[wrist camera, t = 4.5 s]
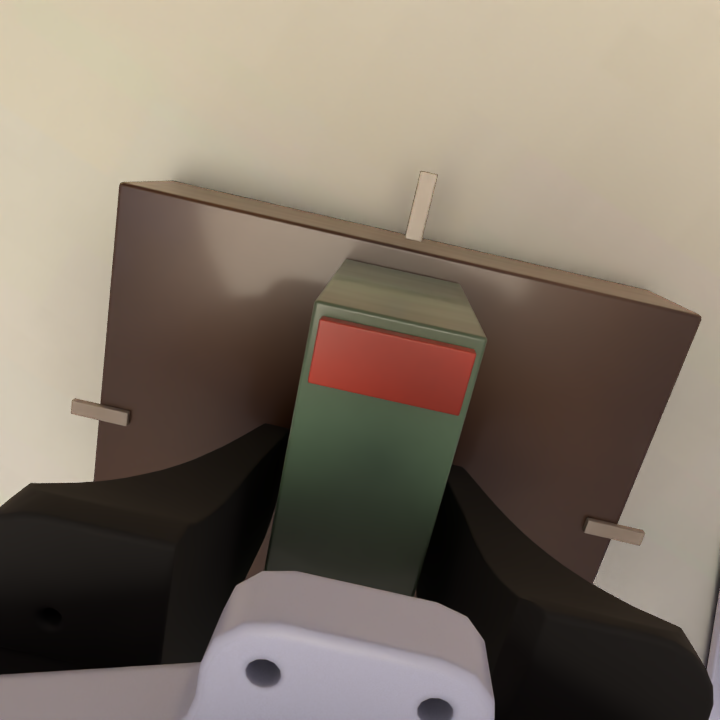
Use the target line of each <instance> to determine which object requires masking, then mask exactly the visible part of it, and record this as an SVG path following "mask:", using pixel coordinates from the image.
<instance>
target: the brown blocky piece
mask: <svg viewBox="0 0 720 720" xmlns="http://www.w3.org/2000/svg"><path fill="white" fill-rule="evenodd" d="M437 176H438V175H437V174H433V173H429V172H425V171H421V172H420V176H419V180H418V184H417V188H416V192H415V196H414V201H413V205H412V209H411V213H410V217H409V222H408V226H407V230H406V234H401V233H397V232H393V231H388V230H384V229H380V228H375V227H371V226H367V225H362V224H358V223H354V222H349V221H345V220H341V219H336V218H332V217H328V216H323V215H319V214H315V213H310V212H306V211H302V210H297V209H293V208H289V207H284V206H280V205H276V204H271V203H267V202H263V201H258V200H254V199H249V198H245V197H241V196H236V195H232V194H228V193H223V192H219V191H215V190H210V189H206V188H202V187H197V186H193V185H189V184H184V183H180V182H176V181H144V182H122V183H120V185H119V196H118V207H117V219H116V230H115V242H114V253H113V265H112V276H111V288H110V300H109V311H108V323H107V334H106V346H105V357H104V369H103V381H102V392H101V404H97V403H93V402H89V401H84V400H80V399H76V398H75V399H73V400H72V405H71V414H75V415H80V416H84V417H88V418H92V419H97V420H99V427H98V438H97V450H96V461H95V473H94V482H95V481H105V480H113V479H120V478H127V477H132V476H136V475H141V474H146V473H150V472H155V471H159V470H163V469H167V468H170V467H173V466H176V465H179V464H183V463H185V462H188V461H191V460H193V459H196V458H198V457H201V456H203V455H205V454H207V453H209V452H212V451H214V450H216V449H218V448H220V447H223V446H225V445H227V444H228V443H230V442H232V441H234V440H236V439H238V438H240V437H241V436H243V435H245V434H247V433H248V432H250V431H252V430H254V429H255V428H257V427H259V426H261V425H263V424H265V423H267V424H271V425H276V426H280V427H285V428H289V429H290V428H291V423H292V418H293V412H294V407H295V402H296V396H297V391H298V386H299V380H300V375H301V370H302V364H303V359H304V354H305V348H306V343H307V338H308V332H309V327H310V322H311V316H312V311H313V306H314V302H315V301H316V299H317V298H318V296H319V295H320V294H321V292H322V291H323V290H324V288H325V287H326V285H327V284H328V283H329V281H330V280H331V278H332V277H333V276H334V274H335V273H336V271H337V270H338V269H339V267H340V266H341V264H342V263H343V262H344V260H345V259H349V260H353V261H358V262H362V263H367V264H371V265H376V266H381V267H385V268H390V269H394V270H399V271H403V272H408V273H412V274H417V275H421V276H426V277H431V278H435V279H440V280H444V281H449V282H453V283H458V284H460V285H461V287H462V289H463V291H464V293H465V295H466V297H467V299H468V301H469V303H470V305H471V307H472V309H473V311H474V313H475V315H476V317H477V319H478V321H479V323H480V325H481V327H482V329H483V331H484V333H485V335H486V337H487V344H486V347H485V351H484V354H483V358H482V361H481V365H480V368H479V372H478V375H477V379H476V382H475V386H474V389H473V392H472V396H471V399H470V403H469V406H468V410H467V413H466V417H465V420H464V424H463V427H462V431H461V434H460V438H459V441H458V445H457V448H456V452H455V455H454V459H453V462H452V465H457V466H461V467H463V468H464V469H465V470H466V471H467V472H468V473H469V474H470V475H471V477H472V478H473V479H474V480H475V481H476V482H477V484H478V485H479V486H480V487H481V488H482V490H483V491H484V492H485V493H486V494H487V495H488V497H489V498H490V499H491V500H492V501H493V502H494V503H495V504H496V506H497V507H498V508H499V509H500V510H501V511H502V512H503V513H504V514H505V515H506V516H507V517H508V518H509V519H510V520H511V521H512V522H513V523H514V524H515V525H516V526H517V527H518V528H519V529H520V530H521V531H522V532H523V533H524V534H525V535H526V536H527V537H529V538H530V539H531V540H532V541H533V542H534V543H536V544H537V545H538V546H539V547H541V548H542V549H543V550H544V551H545V552H547V553H548V554H549V555H550V556H552V557H553V558H554V559H556V560H557V561H558V562H560V563H561V564H563V565H564V566H565V567H567V568H568V569H570V570H571V571H573V572H574V573H576V574H577V575H579V576H580V577H582V578H583V579H585V580H587V581H588V582H590V583H591V584H593V581H594V579H595V577H596V574H597V572H598V569H599V567H600V564H601V562H602V560H603V557H604V555H605V552H606V550H607V547H608V545H609V543H610V540H611V539H613V540H617V541H622V542H626V543H630V544H634V545H639V546H640V544H641V542H642V540H643V537H644V535H645V533H644V531H643V530H640V529H635V528H631V527H627V526H622V525H618V524H617V523H618V521H619V518H620V516H621V514H622V511H623V509H624V506H625V504H626V501H627V499H628V497H629V494H630V492H631V489H632V487H633V484H634V482H635V480H636V477H637V475H638V472H639V470H640V467H641V465H642V463H643V460H644V458H645V455H646V453H647V450H648V448H649V446H650V443H651V441H652V438H653V436H654V433H655V431H656V429H657V426H658V424H659V421H660V419H661V416H662V414H663V412H664V409H665V407H666V404H667V402H668V399H669V397H670V395H671V392H672V390H673V387H674V385H675V382H676V380H677V378H678V375H679V373H680V370H681V368H682V365H683V363H684V361H685V358H686V356H687V353H688V351H689V348H690V346H691V344H692V341H693V339H694V336H695V334H696V331H697V329H698V327H699V324H700V322H701V316H700V315H699V314H697V313H695V312H692V311H690V310H688V309H686V308H684V307H682V306H680V305H678V304H676V303H674V302H671V301H669V300H667V299H665V298H663V297H661V296H659V295H657V294H655V293H653V292H651V291H648V290H645V289H640V288H636V287H632V286H627V285H623V284H619V283H614V282H610V281H605V280H601V279H597V278H592V277H588V276H584V275H579V274H575V273H571V272H566V271H562V270H558V269H553V268H549V267H545V266H540V265H536V264H532V263H527V262H523V261H519V260H514V259H510V258H506V257H501V256H497V255H493V254H488V253H484V252H480V251H475V250H471V249H467V248H462V247H458V246H454V245H449V244H445V243H441V242H436V241H432V240H427V239H423V238H422V237H423V233H424V229H425V225H426V221H427V216H428V212H429V208H430V204H431V200H432V196H433V192H434V188H435V184H436V180H437ZM289 434H290V433H289ZM288 439H289V438H288ZM287 445H288V444H287ZM286 450H287V449H286ZM285 455H286V454H285ZM284 461H285V460H284ZM283 466H284V465H283ZM281 477H282V476H281ZM280 482H281V481H280ZM278 493H279V492H278ZM275 509H276V506H275ZM275 509H274V512H273V515H272V519H271V522H270V525H269V528H268V531H267V533H266V536H265V539H264V541H263V543H262V545H261V547H260V549H259V551H258V553H257V555H256V558H255V560H254V562H253V564H252V566H251V568H250V570H249V572H248V574H247V576H246V578H245V580H247V579H249V578H251V577H252V576H254V575H256V574H258V573H260V572H262V571H264V567H265V562H266V557H267V551H268V546H269V541H270V535H271V530H272V525H273V519H274V514H275ZM245 580H244V581H245ZM414 597H415V598H417V596H416V591H415V595H414Z"/></svg>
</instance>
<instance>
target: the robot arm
mask: <svg viewBox="0 0 720 720" xmlns="http://www.w3.org/2000/svg"><path fill="white" fill-rule="evenodd" d="M289 433H290V429H289V428H285V427H280V426H276V425H271V424H267V423H265V424H263V425H261V426H259V427H257V428H255V429H254V430H252V431H250V432H248V433H247V434H245V435H243V436H241V437H240V438H238V439H236V440H234V441H232V442H230V443H228V444H227V445H225V446H223V447H220V448H218V449H216V450H214V451H212V452H209V453H207V454H205V455H203V456H201V457H198V458H196V459H193V460H191V461H188V462H185V463H183V464H179V465H176V466H173V467H170V468H167V469H163V470H159V471H155V472H150V473H146V474H141V475H136V476H132V477H127V478H120V479H113V480H105V481H95V482H82V483H30V484H29V485H28V486H26V487H25V488H23V489H22V490H21V491H20V492H18V493H17V494H16V495H14V496H13V497H12V498H10V499H9V500H8V501H7V502H6V503H4V504H3V505H2V506H1V507H0V720H720V590H719V596H718V602H717V609H716V615H715V621H714V627H713V634H712V640H711V646H710V653H709V659H708V665H707V670H706V668H705V666H704V665H703V663H702V661H701V660H700V658H699V656H698V655H697V653H696V651H695V650H694V648H693V646H692V645H691V643H690V642H689V640H688V638H687V637H686V635H685V633H684V632H683V630H682V629H681V628H680V627H678V626H676V625H673V624H671V623H669V622H667V621H664V620H662V619H660V618H658V617H656V616H653V615H651V614H649V613H647V612H644V611H642V610H640V609H638V608H635V607H633V606H631V605H629V604H627V603H626V602H624V601H622V600H620V599H618V598H616V597H614V596H613V595H611V594H609V593H607V592H605V591H603V590H602V589H600V588H598V587H597V586H595V585H593V584H591V583H590V582H588V581H587V580H585V579H583V578H582V577H580V576H579V575H577V574H576V573H574V572H573V571H571V570H570V569H568V568H567V567H565V566H564V565H563V564H561V563H560V562H558V561H557V560H556V559H554V558H553V557H552V556H550V555H549V554H548V553H547V552H545V551H544V550H543V549H542V548H541V547H539V546H538V545H537V544H536V543H534V542H533V541H532V540H531V539H530V538H529V537H527V536H526V535H525V534H524V533H523V532H522V531H521V530H520V529H519V528H518V527H517V526H516V525H515V524H514V523H513V522H512V521H511V520H510V519H509V518H508V517H507V516H506V515H505V514H504V513H503V512H502V511H501V510H500V509H499V508H498V507H497V506H496V504H495V503H494V502H493V501H492V500H491V499H490V498H489V497H488V495H487V494H486V493H485V492H484V491H483V490H482V488H481V487H480V486H479V485H478V484H477V482H476V481H475V480H474V479H473V478H472V477H471V475H470V474H469V473H468V472H467V471H466V470H465V469H464V468H463V467H461V466H457V465H452V466H451V469H450V473H449V476H448V480H447V483H446V487H445V490H444V494H443V497H442V501H441V504H440V508H439V511H438V515H437V518H436V521H435V525H434V528H433V532H432V535H431V539H430V542H429V546H428V549H427V553H426V556H425V560H424V563H423V567H422V570H421V574H420V577H419V581H418V584H417V588H416V596H417V598H415V597H411V596H406V595H402V594H397V593H393V592H388V591H384V590H379V589H375V588H370V587H366V586H361V585H357V584H352V583H348V582H343V581H339V580H334V579H330V578H325V577H321V576H316V575H312V574H307V573H303V572H298V571H262V572H260V573H258V574H256V575H254V576H252V577H251V578H249V579H247V580H245V578H246V576H247V574H248V572H249V570H250V568H251V566H252V564H253V562H254V560H255V558H256V555H257V553H258V551H259V549H260V547H261V545H262V543H263V541H264V539H265V536H266V533H267V531H268V528H269V525H270V522H271V519H272V515H273V512H274V509H275V506H276V503H277V498H278V492H279V487H280V481H281V476H282V471H283V465H284V460H285V454H286V449H287V444H288V438H289ZM244 580H245V581H244Z"/></svg>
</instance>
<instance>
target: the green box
mask: <svg viewBox="0 0 720 720" xmlns="http://www.w3.org/2000/svg"><path fill="white" fill-rule="evenodd" d="M486 344H487V337H486V335H485V333H484V331H483V329H482V327H481V325H480V323H479V321H478V319H477V317H476V315H475V313H474V311H473V309H472V307H471V305H470V303H469V301H468V299H467V297H466V295H465V293H464V291H463V289H462V287H461V285H460V284H458V283H453V282H449V281H444V280H440V279H435V278H431V277H426V276H421V275H417V274H412V273H408V272H403V271H399V270H394V269H390V268H385V267H381V266H376V265H371V264H367V263H362V262H358V261H353V260H349V259H345V260H344V262H343V263H342V264H341V266H340V267H339V269H338V270H337V271H336V273H335V274H334V276H333V277H332V278H331V280H330V281H329V283H328V284H327V285H326V287H325V288H324V290H323V291H322V292H321V294H320V295H319V296H318V298H317V299H316V301H315V302H314V306H313V311H312V316H311V322H310V327H309V332H308V338H307V343H306V348H305V354H304V359H303V364H302V370H301V375H300V380H299V386H298V391H297V396H296V402H295V407H294V412H293V418H292V423H291V428H290V434H289V439H288V445H287V450H286V455H285V461H284V466H283V471H282V477H281V482H280V487H279V493H278V498H277V503H276V509H275V514H274V519H273V525H272V530H271V535H270V541H269V546H268V551H267V557H266V562H265V567H264V571H298V572H303V573H307V574H312V575H316V576H321V577H325V578H330V579H334V580H339V581H343V582H348V583H352V584H357V585H361V586H366V587H370V588H375V589H379V590H384V591H388V592H393V593H397V594H402V595H406V596H411V597H414V595H415V591H416V588H417V584H418V581H419V577H420V574H421V570H422V567H423V563H424V560H425V556H426V553H427V549H428V546H429V542H430V539H431V535H432V532H433V528H434V525H435V521H436V518H437V515H438V511H439V508H440V504H441V501H442V497H443V494H444V490H445V487H446V483H447V480H448V476H449V473H450V469H451V466H452V462H453V459H454V455H455V452H456V448H457V445H458V441H459V438H460V434H461V431H462V427H463V424H464V420H465V417H466V413H467V410H468V406H469V403H470V399H471V396H472V392H473V389H474V386H475V382H476V379H477V375H478V372H479V368H480V365H481V361H482V358H483V354H484V351H485V347H486Z"/></svg>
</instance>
